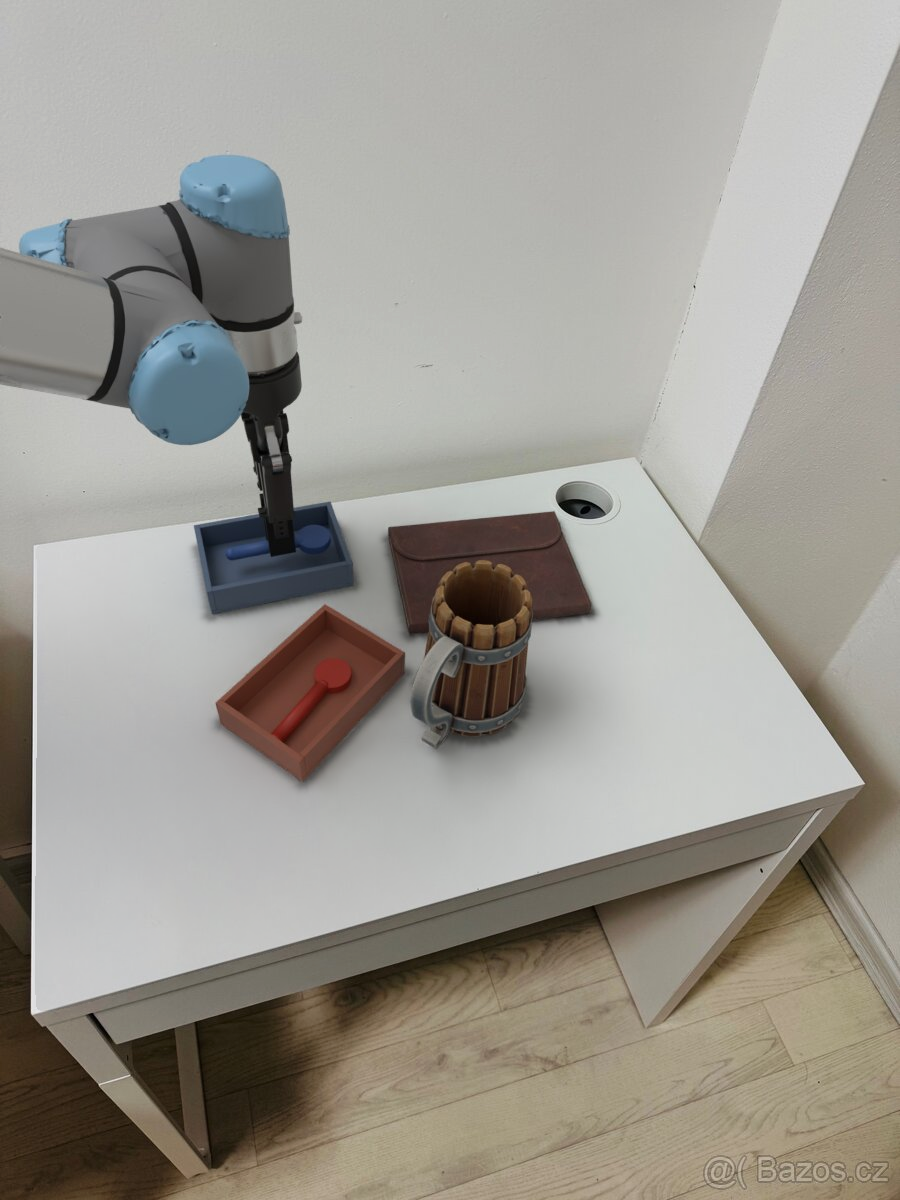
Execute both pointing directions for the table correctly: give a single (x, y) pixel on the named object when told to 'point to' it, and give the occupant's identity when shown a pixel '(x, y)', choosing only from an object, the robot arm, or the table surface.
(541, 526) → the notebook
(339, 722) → the red bin
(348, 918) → the table surface
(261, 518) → the blue bin
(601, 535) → the table surface
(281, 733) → the red spoon
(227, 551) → the blue spoon
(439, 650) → the mug
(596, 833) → the table surface
